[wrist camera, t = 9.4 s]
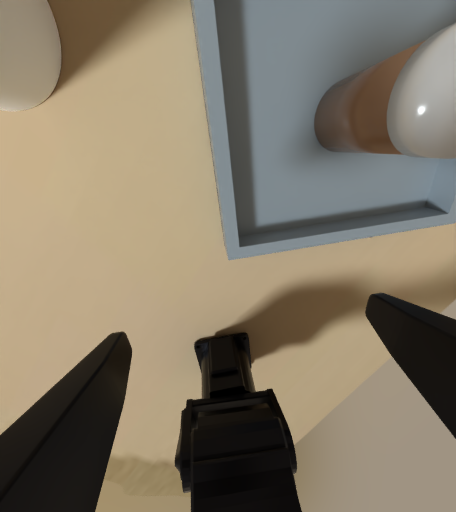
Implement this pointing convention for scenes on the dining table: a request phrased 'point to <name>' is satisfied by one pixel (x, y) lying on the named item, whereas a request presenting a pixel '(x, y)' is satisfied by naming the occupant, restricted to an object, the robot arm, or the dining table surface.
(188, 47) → the dining table surface
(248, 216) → the tray
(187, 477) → the robot arm
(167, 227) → the dining table surface
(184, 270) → the dining table surface
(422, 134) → the shaker
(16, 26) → the cup
